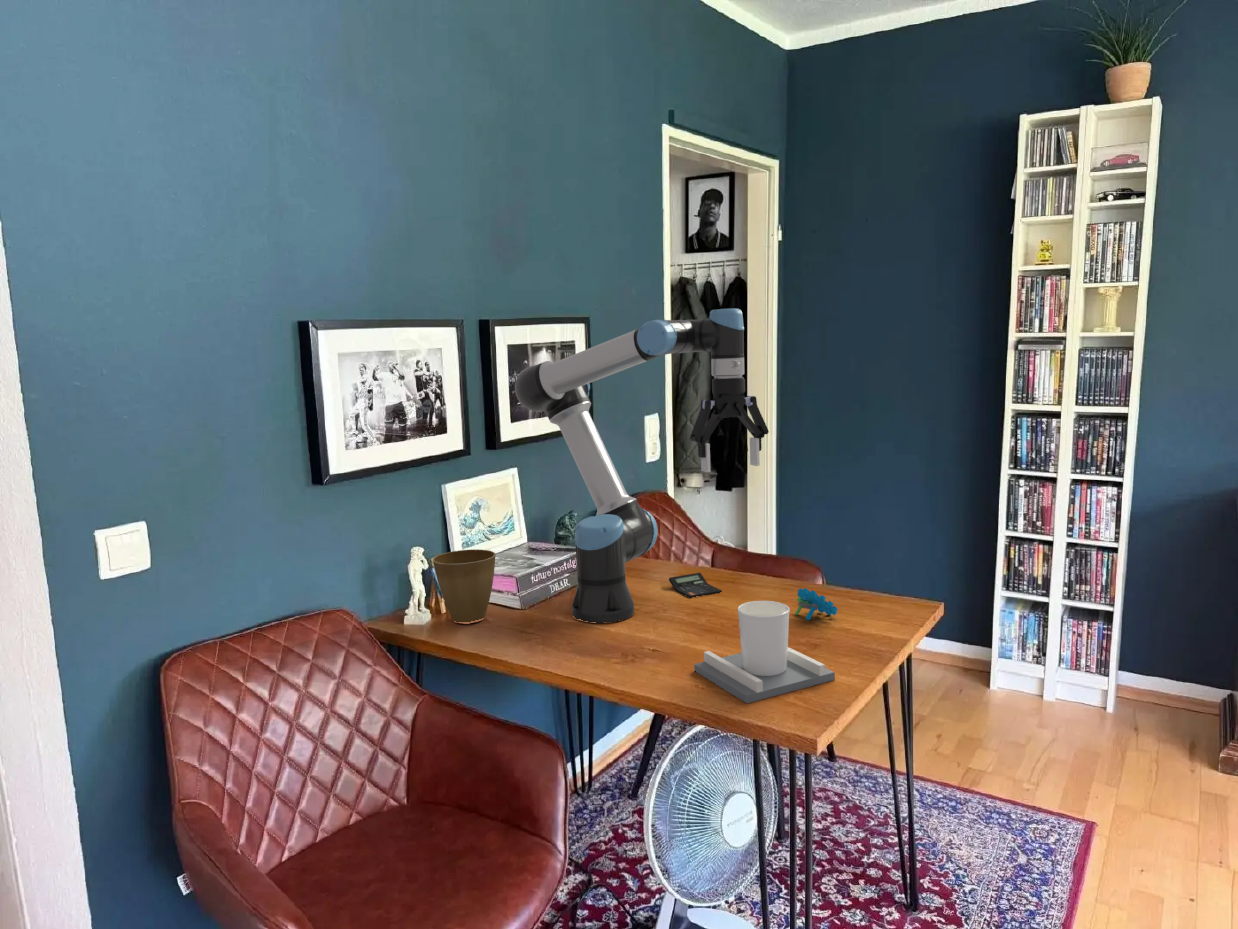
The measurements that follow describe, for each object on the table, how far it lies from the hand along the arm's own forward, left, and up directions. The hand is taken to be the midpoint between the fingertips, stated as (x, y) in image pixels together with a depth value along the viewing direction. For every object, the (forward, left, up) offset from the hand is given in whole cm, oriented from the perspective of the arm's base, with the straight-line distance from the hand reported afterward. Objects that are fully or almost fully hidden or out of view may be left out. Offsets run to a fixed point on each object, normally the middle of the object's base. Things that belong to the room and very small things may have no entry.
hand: (730, 468), depth 200 cm
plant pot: (-60, -23, -35) cm, 73 cm away
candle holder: (+16, -36, -33) cm, 52 cm away
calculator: (-15, +15, -35) cm, 41 cm away
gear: (+19, +2, -35) cm, 40 cm away
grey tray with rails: (+16, -36, -35) cm, 53 cm away
